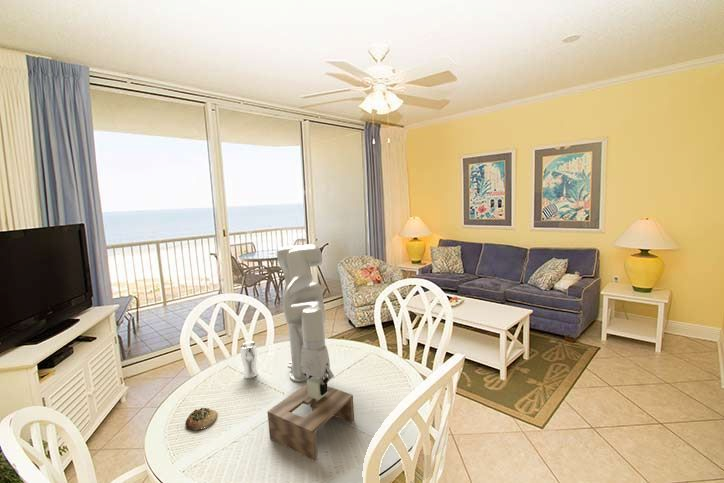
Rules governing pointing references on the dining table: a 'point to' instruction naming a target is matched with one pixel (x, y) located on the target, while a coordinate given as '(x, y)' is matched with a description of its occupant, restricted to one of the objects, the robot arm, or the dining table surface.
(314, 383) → the peg
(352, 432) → the dining table surface
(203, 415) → the bread roll
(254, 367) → the marbled vase
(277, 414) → the keyhole shelf
